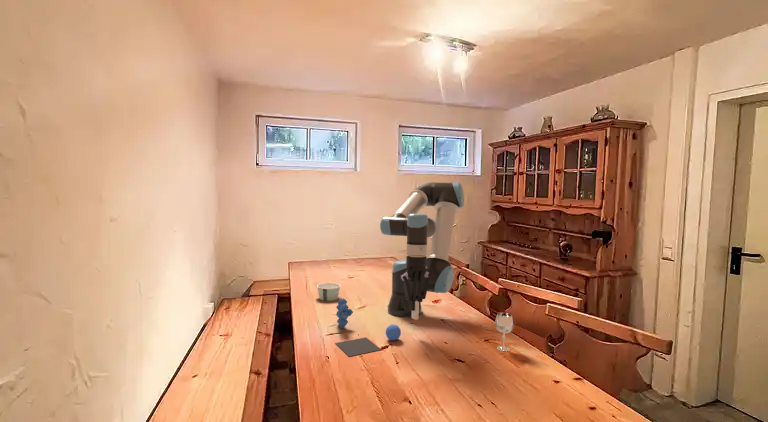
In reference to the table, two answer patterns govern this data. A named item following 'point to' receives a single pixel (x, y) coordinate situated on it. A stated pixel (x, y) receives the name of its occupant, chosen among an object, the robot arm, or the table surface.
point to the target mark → (357, 347)
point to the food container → (328, 291)
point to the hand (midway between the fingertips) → (415, 318)
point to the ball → (393, 332)
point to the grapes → (343, 313)
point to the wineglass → (504, 327)
